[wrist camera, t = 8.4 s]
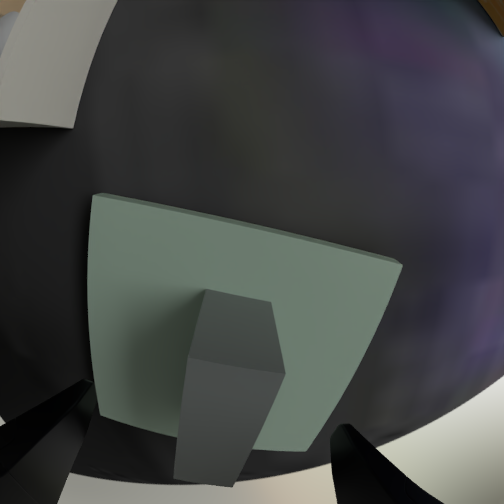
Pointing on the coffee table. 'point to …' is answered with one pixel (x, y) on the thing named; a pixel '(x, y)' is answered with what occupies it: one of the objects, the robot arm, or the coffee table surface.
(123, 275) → the lid
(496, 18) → the small box
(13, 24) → the storage box
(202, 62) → the coffee table surface
